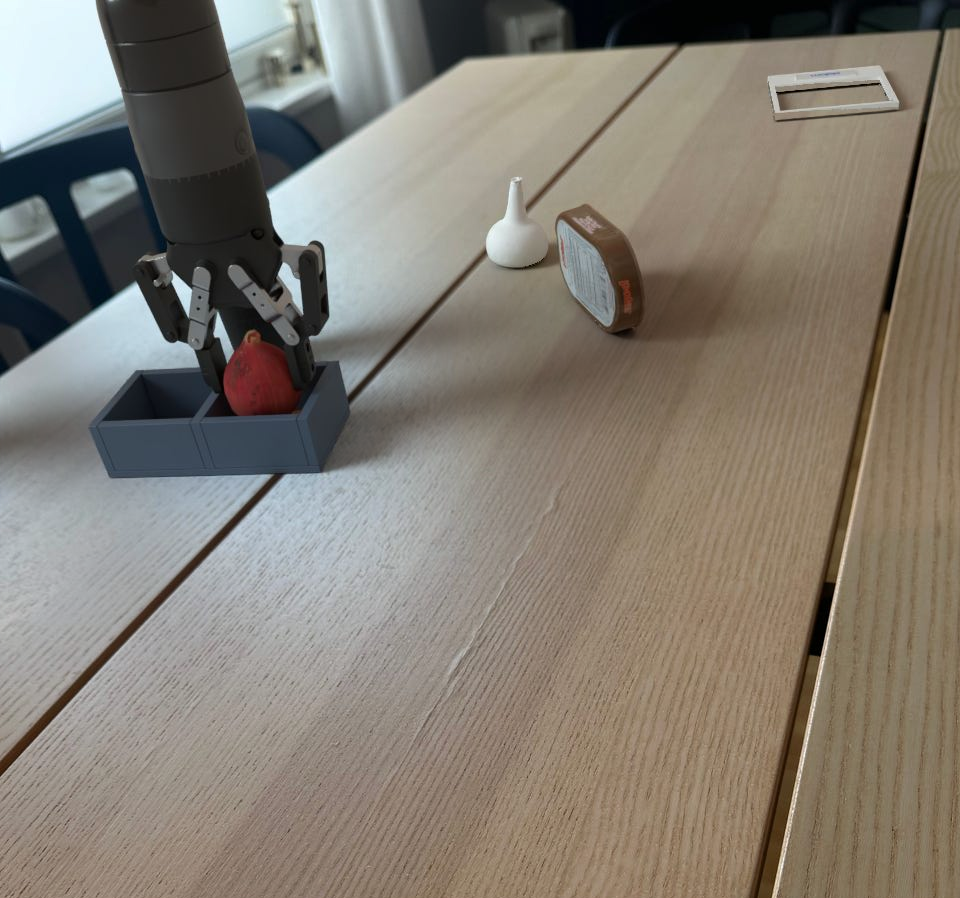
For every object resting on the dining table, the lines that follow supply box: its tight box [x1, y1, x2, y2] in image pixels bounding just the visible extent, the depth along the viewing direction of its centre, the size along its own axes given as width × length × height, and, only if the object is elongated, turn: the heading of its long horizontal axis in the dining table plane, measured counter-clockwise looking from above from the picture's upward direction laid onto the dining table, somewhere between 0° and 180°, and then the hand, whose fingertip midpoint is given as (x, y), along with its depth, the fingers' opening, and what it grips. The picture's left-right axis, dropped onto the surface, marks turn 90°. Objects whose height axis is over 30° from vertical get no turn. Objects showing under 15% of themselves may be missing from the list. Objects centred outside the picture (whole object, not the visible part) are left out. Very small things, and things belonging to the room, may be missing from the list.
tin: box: [554, 203, 646, 334], centre depth 89 cm, size 15×3×8 cm, turn 16°
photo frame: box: [767, 64, 900, 113], centre depth 132 cm, size 15×1×18 cm
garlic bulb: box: [485, 176, 549, 268], centre depth 101 cm, size 6×6×8 cm
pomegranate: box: [223, 330, 302, 416], centre depth 77 cm, size 6×6×8 cm
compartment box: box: [87, 360, 351, 479], centre depth 80 cm, size 18×9×5 cm, turn 81°
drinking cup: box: [217, 196, 286, 352], centre depth 86 cm, size 8×8×20 cm
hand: (263, 386), depth 78 cm, fingers closed on pomegranate, 6 cm apart
